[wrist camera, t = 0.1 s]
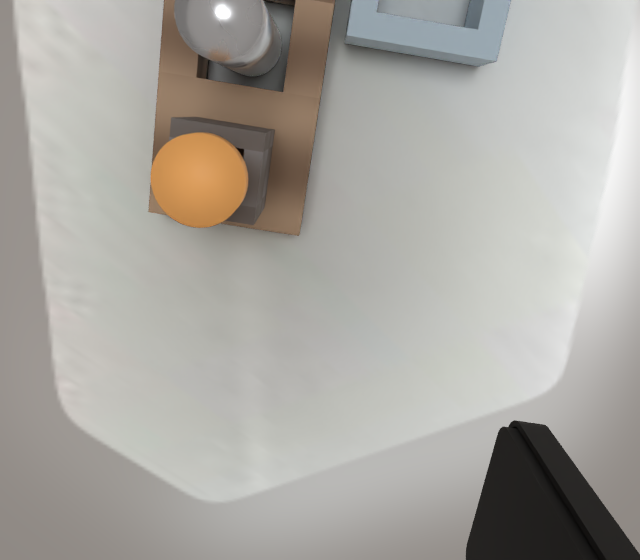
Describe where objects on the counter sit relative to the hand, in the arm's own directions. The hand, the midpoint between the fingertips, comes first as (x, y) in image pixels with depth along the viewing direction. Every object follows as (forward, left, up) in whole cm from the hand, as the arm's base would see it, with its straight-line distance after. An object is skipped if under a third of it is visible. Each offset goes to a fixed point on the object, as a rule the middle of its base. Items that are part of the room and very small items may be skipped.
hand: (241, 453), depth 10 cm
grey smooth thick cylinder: (-10, -5, -31) cm, 33 cm away
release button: (-2, -5, -25) cm, 26 cm away
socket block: (-6, -5, -31) cm, 32 cm away
